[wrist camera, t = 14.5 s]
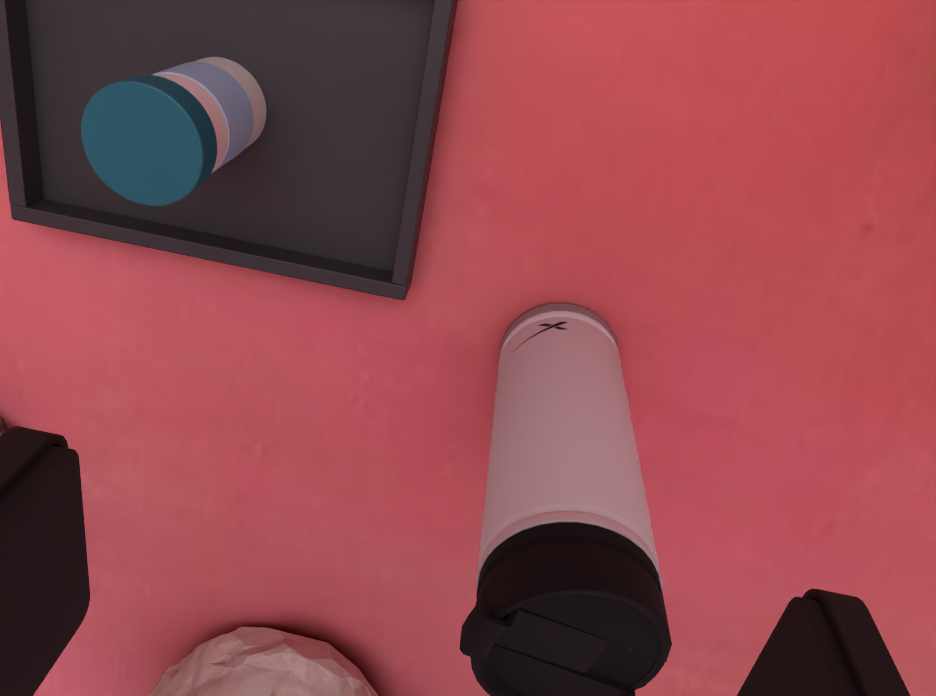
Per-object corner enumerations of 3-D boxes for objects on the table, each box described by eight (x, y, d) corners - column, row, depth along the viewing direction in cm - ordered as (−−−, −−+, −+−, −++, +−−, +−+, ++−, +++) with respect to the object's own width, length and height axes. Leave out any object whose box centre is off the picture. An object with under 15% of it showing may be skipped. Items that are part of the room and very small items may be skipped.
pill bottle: (172, 42, 34) (75, 68, 27) (274, 63, 34) (204, 95, 27) (173, 143, 36) (83, 193, 29) (268, 163, 36) (202, 217, 29)
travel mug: (526, 278, 38) (513, 564, 21) (640, 331, 39) (721, 649, 21) (474, 373, 41) (425, 694, 24) (582, 420, 42) (611, 764, 24)
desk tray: (5, -124, 32) (-29, -128, 30) (462, -26, 32) (457, -23, 30) (36, 206, 39) (11, 219, 37) (410, 284, 39) (404, 301, 37)
